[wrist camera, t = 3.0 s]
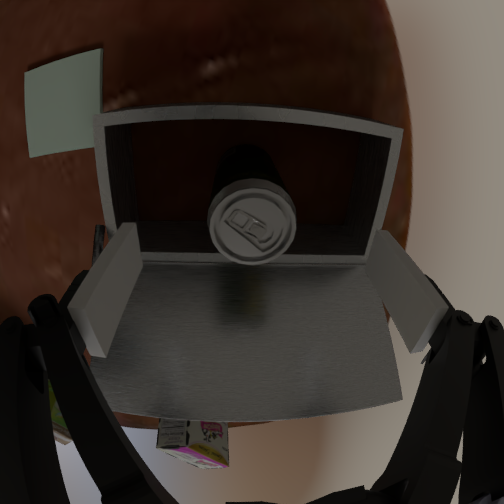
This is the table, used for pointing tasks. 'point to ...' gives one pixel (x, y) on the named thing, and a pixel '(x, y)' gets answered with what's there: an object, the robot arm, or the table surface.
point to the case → (248, 294)
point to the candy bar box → (195, 442)
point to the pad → (63, 103)
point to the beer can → (250, 208)
